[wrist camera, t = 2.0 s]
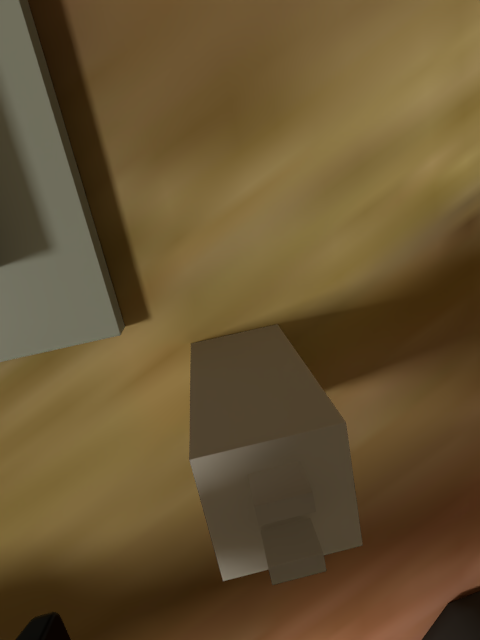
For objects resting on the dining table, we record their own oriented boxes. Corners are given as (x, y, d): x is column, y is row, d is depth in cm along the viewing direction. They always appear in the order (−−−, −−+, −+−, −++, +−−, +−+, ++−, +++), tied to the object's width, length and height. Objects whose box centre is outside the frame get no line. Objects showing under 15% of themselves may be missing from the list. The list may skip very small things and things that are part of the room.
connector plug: (291, 401, 17) (380, 582, 9) (210, 420, 17) (226, 622, 9) (277, 324, 16) (364, 448, 8) (190, 343, 16) (188, 491, 8)
